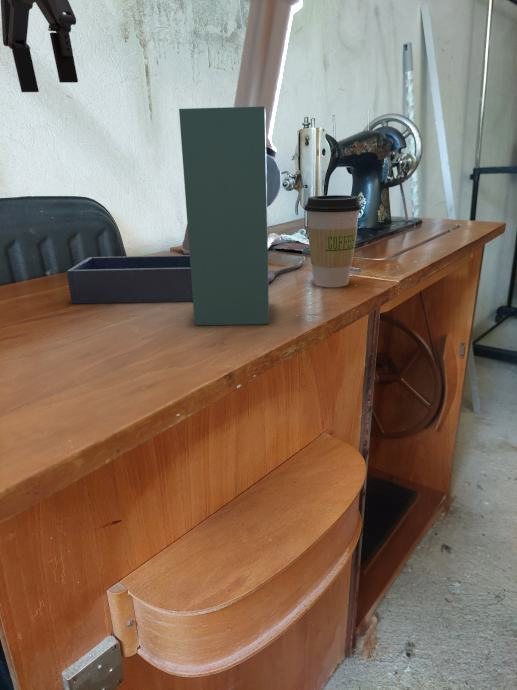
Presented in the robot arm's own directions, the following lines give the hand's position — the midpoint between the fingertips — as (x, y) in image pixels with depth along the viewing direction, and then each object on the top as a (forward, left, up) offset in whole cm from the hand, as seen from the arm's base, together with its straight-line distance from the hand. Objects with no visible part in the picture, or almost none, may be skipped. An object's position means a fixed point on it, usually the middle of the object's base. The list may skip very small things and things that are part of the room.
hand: (48, 87), depth 84 cm
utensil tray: (-5, +14, -33) cm, 36 cm away
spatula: (-44, +7, -33) cm, 56 cm away
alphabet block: (-16, 0, -33) cm, 37 cm away
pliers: (-30, +22, -33) cm, 50 cm away
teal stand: (-6, +35, -33) cm, 49 cm away
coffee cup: (-30, +35, -33) cm, 57 cm away
